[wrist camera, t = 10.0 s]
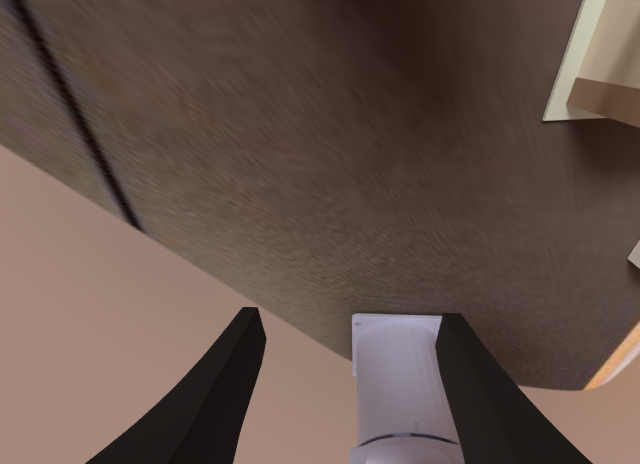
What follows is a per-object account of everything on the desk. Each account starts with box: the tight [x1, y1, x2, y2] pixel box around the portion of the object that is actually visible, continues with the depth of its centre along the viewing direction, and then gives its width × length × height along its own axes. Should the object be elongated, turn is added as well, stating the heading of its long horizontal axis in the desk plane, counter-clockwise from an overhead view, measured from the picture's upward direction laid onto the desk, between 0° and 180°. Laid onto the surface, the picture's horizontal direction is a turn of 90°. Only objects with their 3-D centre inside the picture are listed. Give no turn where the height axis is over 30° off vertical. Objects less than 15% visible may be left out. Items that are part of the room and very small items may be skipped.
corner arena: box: [542, 0, 640, 268], centre depth 13 cm, size 20×13×2 cm, turn 4°
